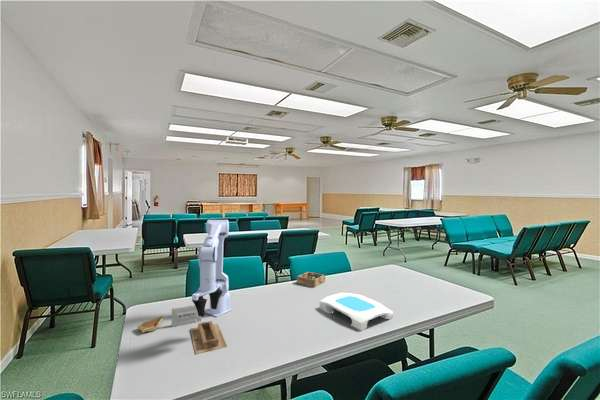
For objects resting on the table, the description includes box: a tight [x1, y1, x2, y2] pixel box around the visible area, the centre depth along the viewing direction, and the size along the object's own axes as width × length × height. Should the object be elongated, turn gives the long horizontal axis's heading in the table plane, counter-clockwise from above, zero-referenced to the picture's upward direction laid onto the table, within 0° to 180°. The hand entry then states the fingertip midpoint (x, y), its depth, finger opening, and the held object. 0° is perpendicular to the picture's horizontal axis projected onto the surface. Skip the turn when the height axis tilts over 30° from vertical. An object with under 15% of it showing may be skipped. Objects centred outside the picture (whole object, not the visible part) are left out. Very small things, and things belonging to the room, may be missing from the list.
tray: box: [190, 320, 228, 356], centre depth 109 cm, size 11×20×3 cm, turn 26°
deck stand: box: [296, 271, 326, 288], centre depth 176 cm, size 13×13×5 cm
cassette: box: [171, 304, 202, 328], centre depth 121 cm, size 12×2×8 cm, turn 117°
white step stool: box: [319, 292, 394, 331], centre depth 131 cm, size 21×28×6 cm
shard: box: [136, 315, 164, 334], centre depth 118 cm, size 11×8×2 cm
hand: (207, 312), depth 109 cm, fingers open, 7 cm apart
